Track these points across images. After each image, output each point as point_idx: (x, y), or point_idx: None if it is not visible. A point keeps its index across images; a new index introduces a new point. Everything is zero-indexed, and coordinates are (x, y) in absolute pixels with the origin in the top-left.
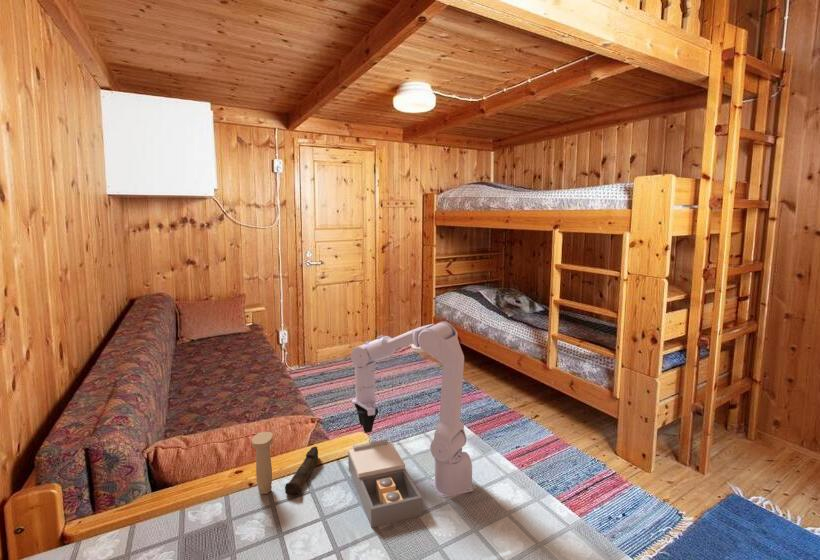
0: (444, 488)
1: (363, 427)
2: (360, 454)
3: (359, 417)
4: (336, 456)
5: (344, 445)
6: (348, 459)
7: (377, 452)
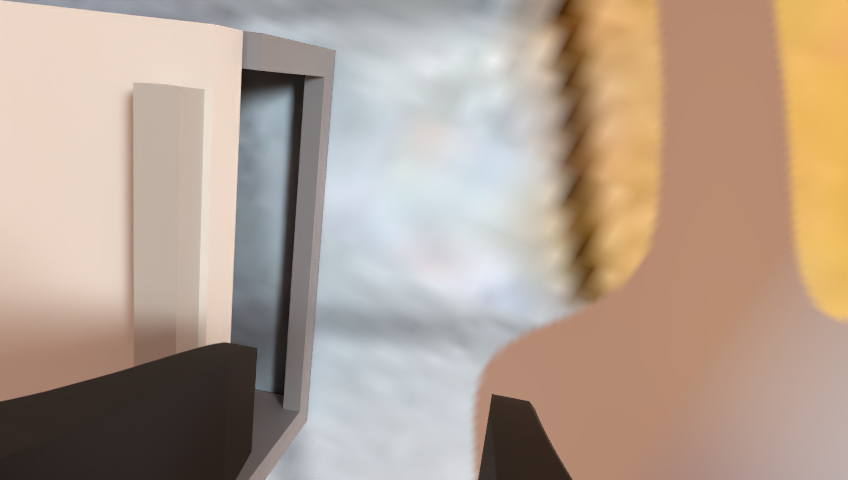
0: None
1: (152, 363)
2: (52, 129)
3: (489, 470)
4: (625, 6)
5: (805, 161)
6: (291, 40)
7: (36, 321)
